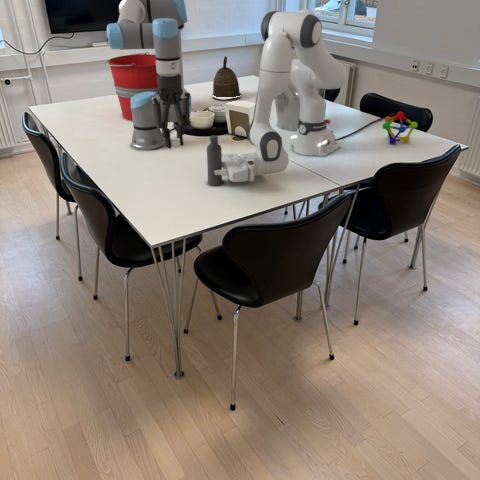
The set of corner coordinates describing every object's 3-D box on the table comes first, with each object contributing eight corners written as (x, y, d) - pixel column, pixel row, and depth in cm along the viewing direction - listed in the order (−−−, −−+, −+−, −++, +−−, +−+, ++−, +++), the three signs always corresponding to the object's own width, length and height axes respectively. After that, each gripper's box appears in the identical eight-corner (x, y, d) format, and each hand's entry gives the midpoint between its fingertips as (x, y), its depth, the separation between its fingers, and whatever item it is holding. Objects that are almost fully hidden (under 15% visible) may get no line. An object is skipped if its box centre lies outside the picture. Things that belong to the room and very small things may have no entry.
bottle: (206, 181, 173) (204, 134, 163) (219, 179, 174) (218, 133, 164) (210, 186, 168) (208, 139, 159) (223, 185, 170) (223, 138, 160)
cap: (167, 147, 149) (167, 141, 148) (169, 143, 152) (169, 137, 151) (179, 147, 149) (179, 141, 148) (181, 143, 152) (180, 137, 151)
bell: (227, 105, 294) (202, 96, 282) (238, 66, 289) (213, 55, 277) (243, 108, 280) (217, 98, 268) (255, 66, 275) (229, 55, 263)
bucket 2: (296, 138, 215) (301, 78, 201) (255, 124, 234) (256, 68, 219) (335, 125, 232) (342, 70, 217) (294, 113, 251) (297, 61, 236)
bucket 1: (122, 105, 263) (114, 51, 248) (180, 106, 263) (177, 52, 247) (105, 123, 234) (95, 63, 218) (171, 124, 233) (166, 64, 217)
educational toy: (377, 146, 209) (379, 114, 202) (384, 138, 219) (386, 107, 211) (411, 149, 202) (415, 116, 195) (417, 141, 212) (420, 109, 204)
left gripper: (149, 79, 131) (156, 154, 144) (198, 72, 140) (201, 144, 152) (138, 75, 137) (146, 147, 149) (186, 69, 145) (190, 138, 157)
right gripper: (239, 148, 178) (206, 151, 175) (255, 167, 161) (218, 171, 158) (239, 162, 181) (206, 166, 178) (255, 183, 165) (218, 187, 161)
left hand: (174, 145), depth 150 cm, fingers closed on cap, 4 cm apart
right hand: (212, 168), depth 168 cm, fingers closed on bottle, 5 cm apart
